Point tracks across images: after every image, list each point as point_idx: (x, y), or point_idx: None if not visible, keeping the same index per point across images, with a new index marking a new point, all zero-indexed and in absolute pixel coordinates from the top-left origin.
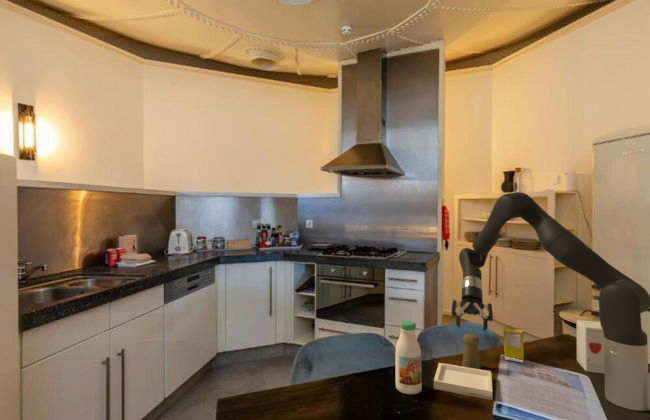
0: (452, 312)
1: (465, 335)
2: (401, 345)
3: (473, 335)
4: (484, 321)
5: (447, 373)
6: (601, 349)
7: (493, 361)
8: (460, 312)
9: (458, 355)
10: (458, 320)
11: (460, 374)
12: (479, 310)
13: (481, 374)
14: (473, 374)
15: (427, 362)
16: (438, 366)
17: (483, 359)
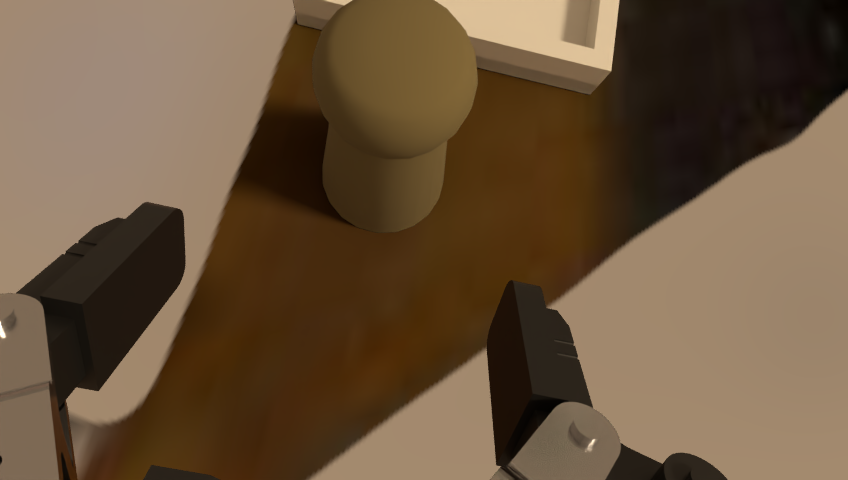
0: (709, 477)
1: (460, 46)
2: None
3: (373, 33)
4: (94, 265)
5: (551, 7)
6: None
7: (193, 304)
8: (544, 471)
9: (444, 367)
10: (545, 331)
11: (478, 3)
12: (23, 453)
13: None
14: None
15: (658, 191)
16: (613, 16)
17: (262, 327)
